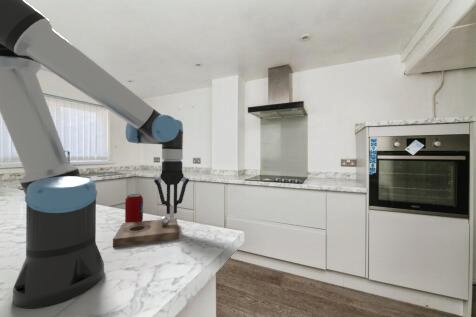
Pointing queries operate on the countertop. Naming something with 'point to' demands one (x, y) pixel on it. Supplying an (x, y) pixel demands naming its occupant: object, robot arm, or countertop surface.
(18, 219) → the countertop surface
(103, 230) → the countertop surface
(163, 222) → the ball
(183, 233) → the countertop surface
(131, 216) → the beverage can
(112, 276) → the countertop surface
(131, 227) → the block
